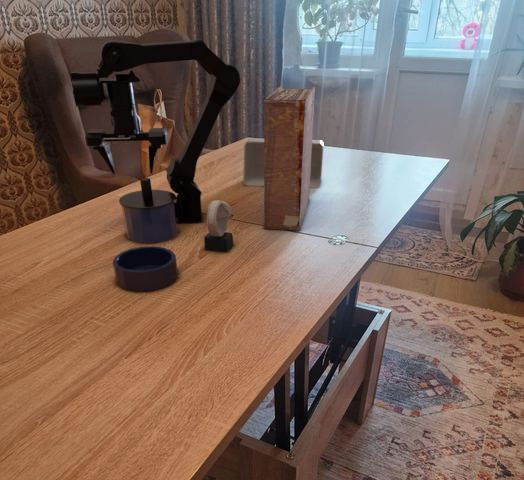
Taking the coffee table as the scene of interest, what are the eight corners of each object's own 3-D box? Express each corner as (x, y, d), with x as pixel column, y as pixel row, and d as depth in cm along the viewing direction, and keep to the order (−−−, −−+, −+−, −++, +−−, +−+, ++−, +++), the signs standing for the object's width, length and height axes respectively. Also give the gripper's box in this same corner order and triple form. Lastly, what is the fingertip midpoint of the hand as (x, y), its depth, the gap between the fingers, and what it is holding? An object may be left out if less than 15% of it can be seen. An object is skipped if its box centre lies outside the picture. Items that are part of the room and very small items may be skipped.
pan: (179, 264, 108) (177, 245, 105) (174, 290, 97) (172, 270, 95) (122, 265, 107) (119, 247, 104) (111, 292, 97) (107, 272, 94)
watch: (235, 242, 118) (233, 197, 111) (224, 255, 111) (221, 208, 105) (213, 239, 119) (211, 195, 113) (201, 252, 113) (198, 206, 106)
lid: (178, 193, 124) (176, 170, 121) (174, 211, 113) (171, 187, 109) (125, 194, 123) (121, 172, 120) (114, 212, 112) (110, 188, 109)
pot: (179, 223, 128) (176, 191, 123) (175, 242, 118) (171, 208, 113) (131, 225, 127) (126, 192, 122) (123, 243, 117) (117, 209, 112)
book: (278, 198, 145) (280, 85, 128) (309, 200, 143) (315, 86, 126) (264, 229, 124) (263, 99, 107) (299, 231, 123) (305, 101, 106)
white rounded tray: (321, 174, 166) (324, 135, 159) (320, 188, 153) (323, 146, 146) (250, 172, 169) (249, 133, 162) (243, 185, 156) (242, 144, 149)
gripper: (166, 98, 118) (173, 164, 127) (89, 99, 118) (102, 166, 127) (161, 106, 109) (169, 176, 118) (78, 107, 108) (92, 178, 117)
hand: (133, 173), depth 120 cm, fingers open, 9 cm apart
